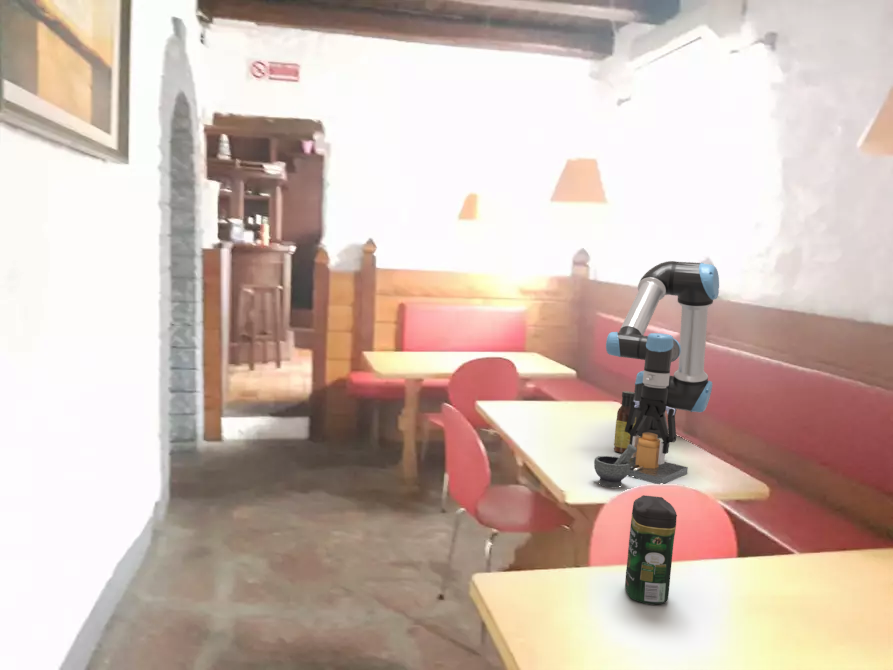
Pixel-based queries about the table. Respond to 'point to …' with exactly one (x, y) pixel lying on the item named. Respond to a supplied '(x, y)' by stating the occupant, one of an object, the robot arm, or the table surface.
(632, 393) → the sauce bottle
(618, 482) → the mortar and pestle
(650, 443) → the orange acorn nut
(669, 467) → the junction plate
